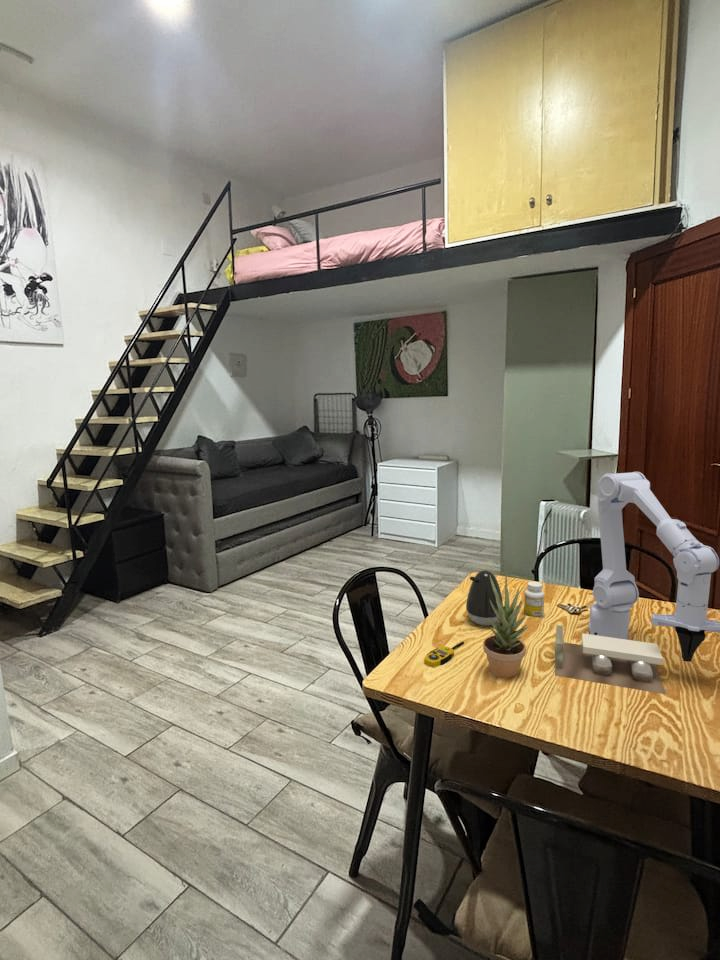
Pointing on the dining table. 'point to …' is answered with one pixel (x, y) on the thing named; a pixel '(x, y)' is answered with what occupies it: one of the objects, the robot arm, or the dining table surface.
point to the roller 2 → (641, 671)
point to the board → (580, 667)
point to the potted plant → (505, 637)
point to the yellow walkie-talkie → (440, 656)
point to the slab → (622, 649)
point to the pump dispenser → (482, 598)
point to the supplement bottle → (534, 600)
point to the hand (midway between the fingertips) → (686, 659)
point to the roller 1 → (601, 664)
